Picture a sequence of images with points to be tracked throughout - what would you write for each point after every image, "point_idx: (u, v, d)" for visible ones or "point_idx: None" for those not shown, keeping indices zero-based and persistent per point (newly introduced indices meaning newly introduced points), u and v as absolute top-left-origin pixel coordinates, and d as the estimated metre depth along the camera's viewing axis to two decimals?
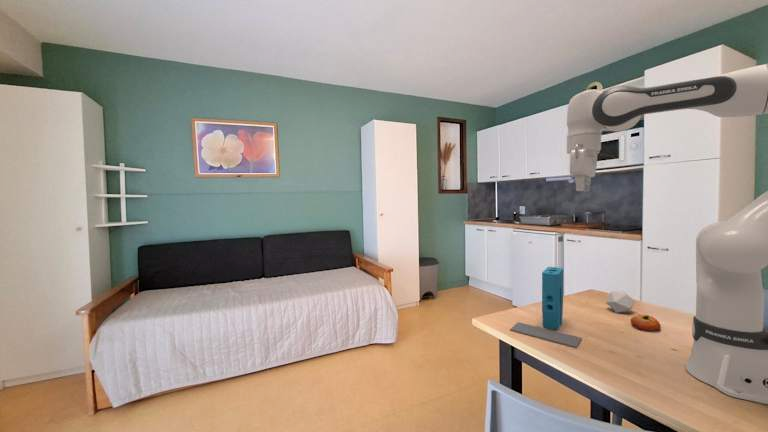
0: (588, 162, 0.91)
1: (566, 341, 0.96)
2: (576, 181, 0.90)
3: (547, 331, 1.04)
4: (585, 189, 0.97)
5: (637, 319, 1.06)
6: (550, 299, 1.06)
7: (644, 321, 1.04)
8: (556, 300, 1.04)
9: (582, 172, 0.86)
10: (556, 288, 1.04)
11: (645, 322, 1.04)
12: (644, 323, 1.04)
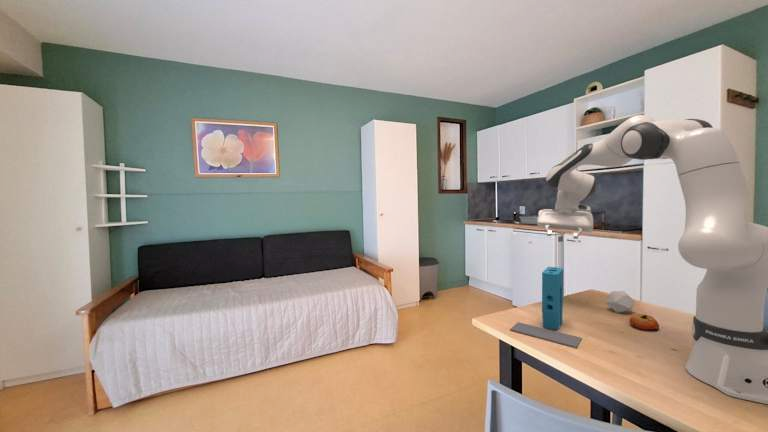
0: (556, 217, 1.28)
1: (566, 341, 0.96)
2: (546, 230, 1.29)
3: (547, 331, 1.04)
4: None
5: (635, 319, 1.06)
6: (550, 299, 1.06)
7: (643, 320, 1.05)
8: (556, 300, 1.04)
9: (537, 222, 1.30)
10: (556, 288, 1.04)
11: (643, 321, 1.04)
12: (642, 323, 1.04)
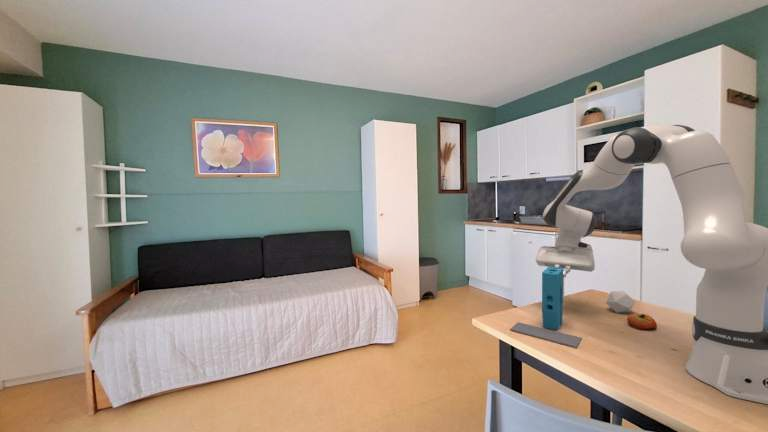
0: (556, 255, 1.23)
1: (566, 341, 0.96)
2: None
3: (547, 331, 1.04)
4: None
5: (634, 318, 1.07)
6: (550, 299, 1.06)
7: (641, 320, 1.05)
8: (556, 300, 1.04)
9: (536, 260, 1.26)
10: (556, 288, 1.04)
11: (641, 320, 1.05)
12: (640, 322, 1.05)
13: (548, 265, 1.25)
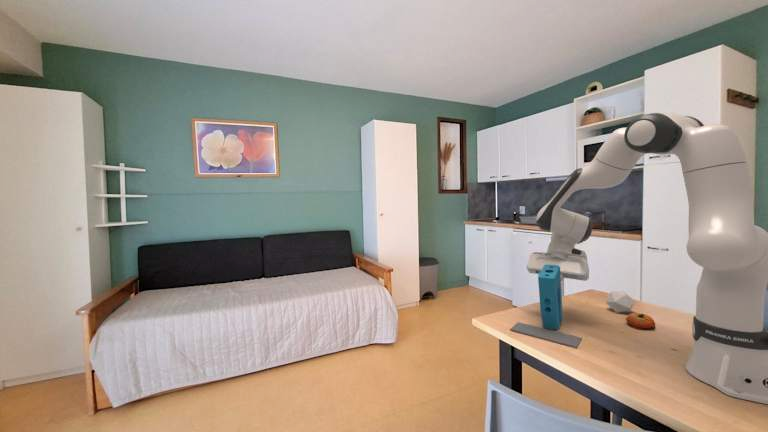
0: (548, 262, 1.15)
1: (566, 341, 0.96)
2: None
3: (547, 331, 1.04)
4: None
5: (632, 318, 1.07)
6: (548, 301, 1.04)
7: (639, 319, 1.05)
8: (554, 303, 1.02)
9: (527, 267, 1.18)
10: (553, 291, 1.02)
11: (640, 320, 1.05)
12: (639, 322, 1.05)
13: None
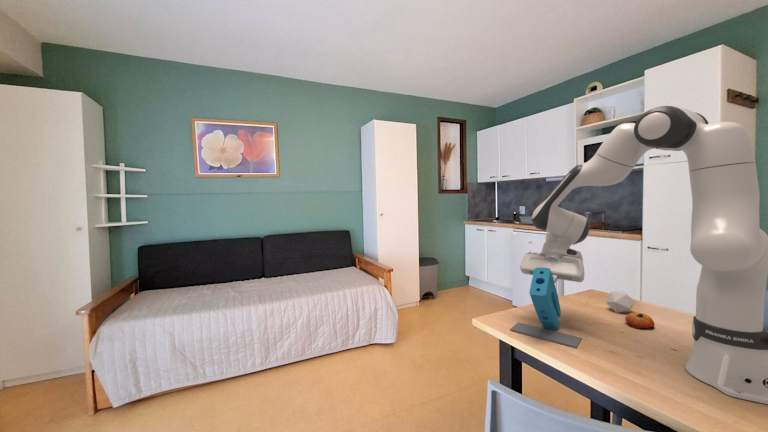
0: (542, 262, 1.10)
1: (566, 341, 0.96)
2: None
3: (547, 331, 1.04)
4: None
5: (632, 317, 1.07)
6: (544, 311, 1.02)
7: (639, 319, 1.06)
8: (550, 313, 1.00)
9: (520, 267, 1.14)
10: (547, 305, 0.98)
11: (639, 320, 1.05)
12: (638, 321, 1.05)
13: None
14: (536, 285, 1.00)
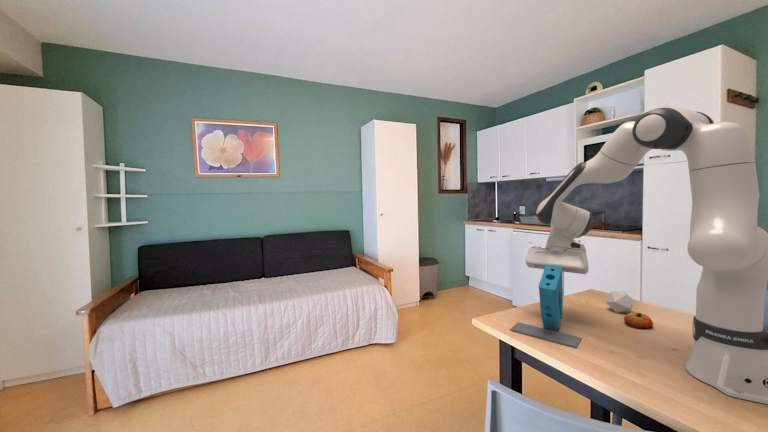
0: (547, 256, 1.14)
1: (566, 341, 0.96)
2: None
3: (547, 331, 1.04)
4: None
5: (631, 317, 1.08)
6: (549, 307, 1.02)
7: (637, 319, 1.06)
8: (555, 310, 1.00)
9: (526, 261, 1.17)
10: (554, 300, 0.98)
11: (638, 319, 1.06)
12: (637, 321, 1.06)
13: (538, 267, 1.16)
14: (546, 280, 1.00)
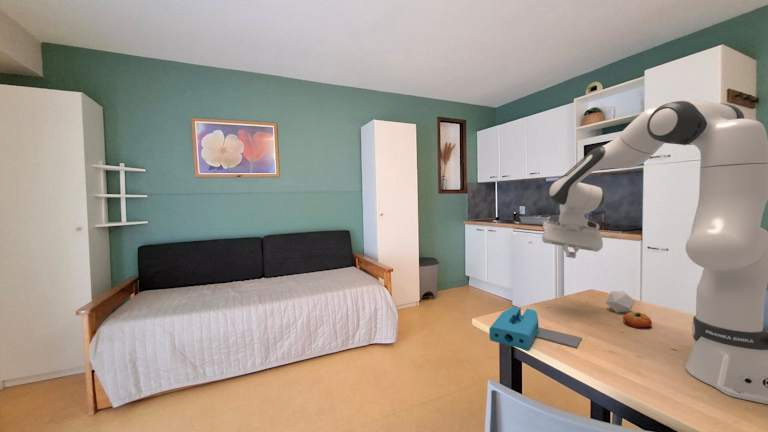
0: (565, 233, 1.18)
1: (566, 341, 0.96)
2: (564, 249, 1.17)
3: (547, 331, 1.04)
4: None
5: (630, 317, 1.08)
6: None
7: (637, 318, 1.06)
8: (534, 324, 0.99)
9: (545, 238, 1.18)
10: (531, 329, 0.96)
11: (637, 319, 1.06)
12: (636, 321, 1.06)
13: (554, 243, 1.20)
14: (515, 342, 0.94)
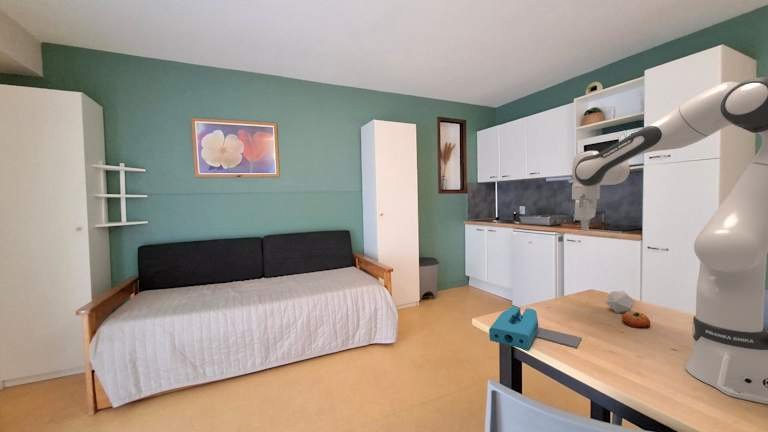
0: (589, 209, 1.13)
1: (566, 341, 0.96)
2: (582, 223, 1.15)
3: (547, 331, 1.04)
4: None
5: (628, 316, 1.08)
6: None
7: (635, 318, 1.07)
8: (534, 324, 0.99)
9: (584, 219, 1.08)
10: (531, 329, 0.96)
11: (636, 319, 1.06)
12: (635, 320, 1.06)
13: None
14: (515, 342, 0.94)
